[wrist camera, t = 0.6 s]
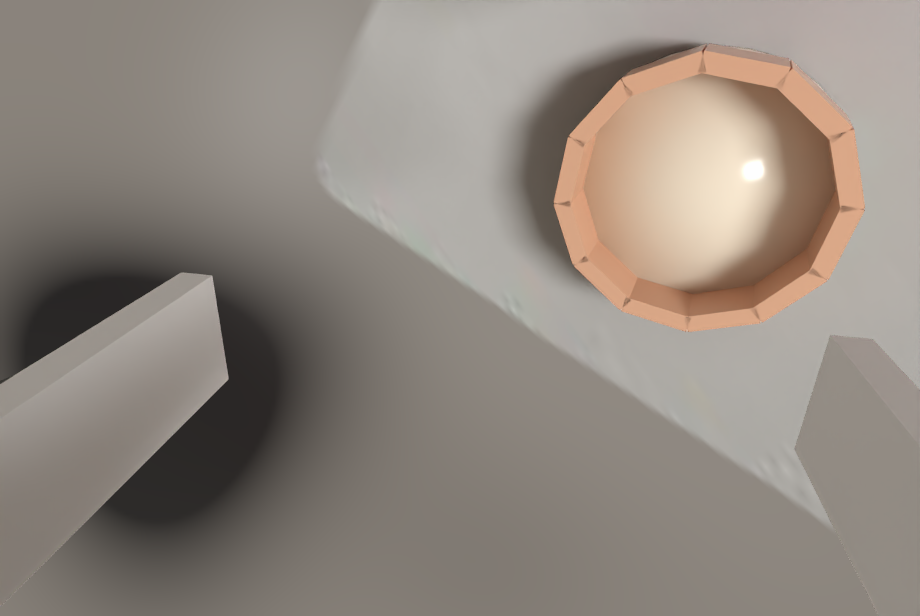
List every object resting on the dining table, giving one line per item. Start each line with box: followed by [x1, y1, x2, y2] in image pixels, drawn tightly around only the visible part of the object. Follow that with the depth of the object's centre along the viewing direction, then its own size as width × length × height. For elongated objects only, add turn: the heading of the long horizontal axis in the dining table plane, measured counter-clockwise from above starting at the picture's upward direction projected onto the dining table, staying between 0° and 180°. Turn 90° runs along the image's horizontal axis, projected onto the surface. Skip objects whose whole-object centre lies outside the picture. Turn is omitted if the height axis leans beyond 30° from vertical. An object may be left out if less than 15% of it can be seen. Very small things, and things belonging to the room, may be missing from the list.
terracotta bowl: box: [554, 43, 865, 332], centre depth 34 cm, size 15×15×4 cm
